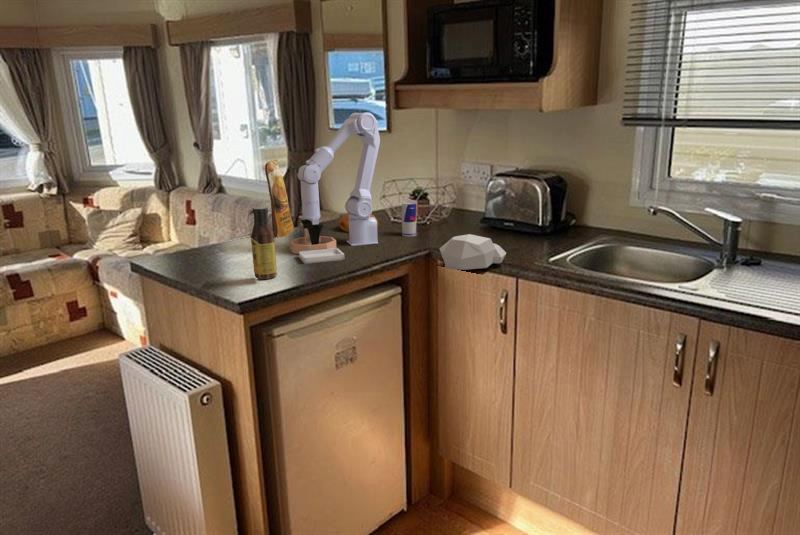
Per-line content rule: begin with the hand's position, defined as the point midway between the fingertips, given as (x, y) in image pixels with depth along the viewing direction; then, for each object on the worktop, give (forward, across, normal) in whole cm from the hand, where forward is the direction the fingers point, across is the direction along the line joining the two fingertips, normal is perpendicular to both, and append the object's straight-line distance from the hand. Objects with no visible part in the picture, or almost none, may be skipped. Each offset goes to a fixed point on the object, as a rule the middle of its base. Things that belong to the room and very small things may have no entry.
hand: (312, 242), depth 201 cm
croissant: (+3, -25, +22) cm, 33 cm away
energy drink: (+3, -8, +37) cm, 38 cm away
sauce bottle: (+3, +30, -19) cm, 36 cm away
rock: (+3, +40, +40) cm, 57 cm away
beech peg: (+2, 0, 0) cm, 2 cm away
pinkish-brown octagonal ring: (+2, 0, 0) cm, 2 cm away
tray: (+2, +14, 0) cm, 14 cm away
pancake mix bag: (+3, -29, -6) cm, 30 cm away
